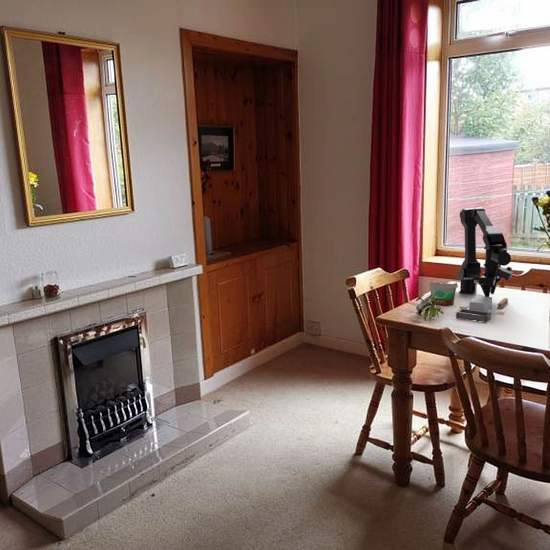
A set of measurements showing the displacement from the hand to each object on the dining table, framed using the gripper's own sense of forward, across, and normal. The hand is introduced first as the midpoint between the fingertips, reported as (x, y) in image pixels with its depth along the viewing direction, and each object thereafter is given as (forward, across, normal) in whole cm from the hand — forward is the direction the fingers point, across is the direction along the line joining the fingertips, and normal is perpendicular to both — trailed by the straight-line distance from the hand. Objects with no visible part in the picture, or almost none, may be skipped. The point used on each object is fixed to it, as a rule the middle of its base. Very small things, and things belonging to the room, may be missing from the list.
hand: (489, 296), depth 243 cm
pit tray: (+4, -25, 0) cm, 25 cm away
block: (+4, -11, +1) cm, 12 cm away
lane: (+4, +1, 0) cm, 4 cm away
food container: (+4, -12, +17) cm, 21 cm away
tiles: (+4, -12, 0) cm, 12 cm away
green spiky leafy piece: (+4, -31, +16) cm, 35 cm away
